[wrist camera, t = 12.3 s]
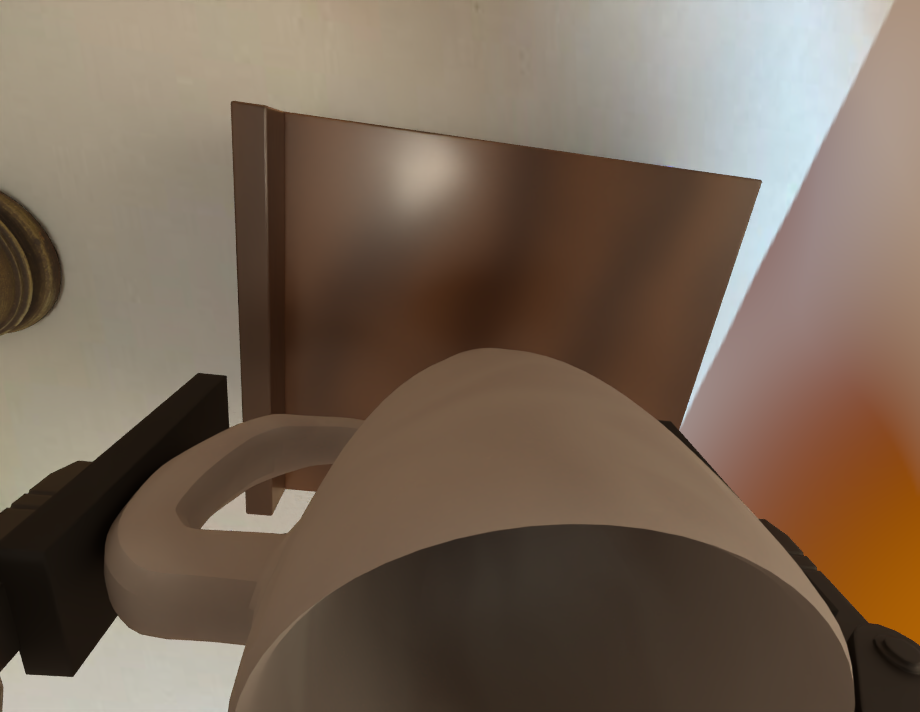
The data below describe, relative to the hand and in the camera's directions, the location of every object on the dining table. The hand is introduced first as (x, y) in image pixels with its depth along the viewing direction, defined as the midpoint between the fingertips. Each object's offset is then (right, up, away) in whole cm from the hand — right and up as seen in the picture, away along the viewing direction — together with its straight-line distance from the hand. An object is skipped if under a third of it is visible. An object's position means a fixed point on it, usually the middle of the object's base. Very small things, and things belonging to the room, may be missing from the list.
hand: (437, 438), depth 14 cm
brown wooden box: (+2, +6, +16) cm, 17 cm away
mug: (0, +1, +1) cm, 2 cm away
